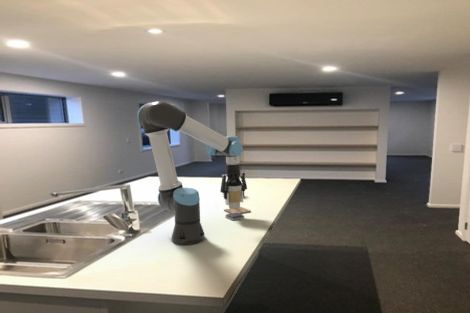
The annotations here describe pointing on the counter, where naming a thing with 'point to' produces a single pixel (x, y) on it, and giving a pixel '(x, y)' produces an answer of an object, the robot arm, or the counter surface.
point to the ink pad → (234, 216)
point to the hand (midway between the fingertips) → (234, 203)
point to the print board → (237, 210)
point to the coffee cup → (234, 194)
